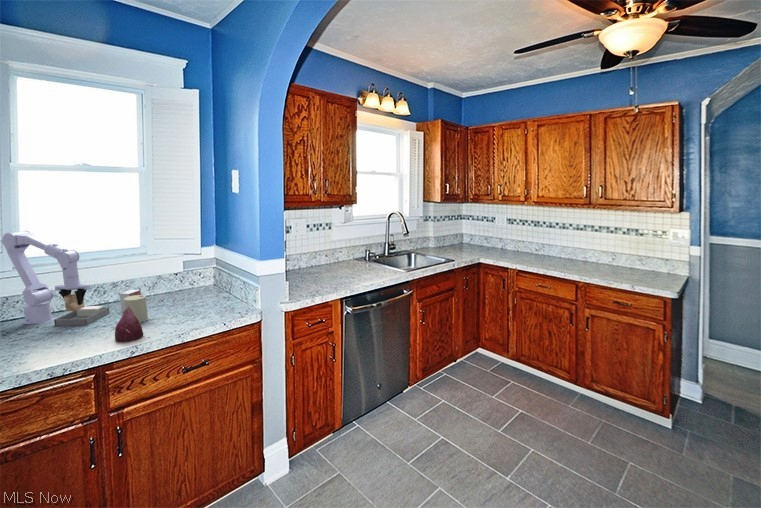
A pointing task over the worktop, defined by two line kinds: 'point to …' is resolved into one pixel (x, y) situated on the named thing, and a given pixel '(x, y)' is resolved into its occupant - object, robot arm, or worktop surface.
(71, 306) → the wood block
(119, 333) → the vegetable
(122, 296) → the small box
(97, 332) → the worktop surface
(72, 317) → the tray
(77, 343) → the worktop surface
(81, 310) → the white box
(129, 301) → the can
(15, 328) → the worktop surface
